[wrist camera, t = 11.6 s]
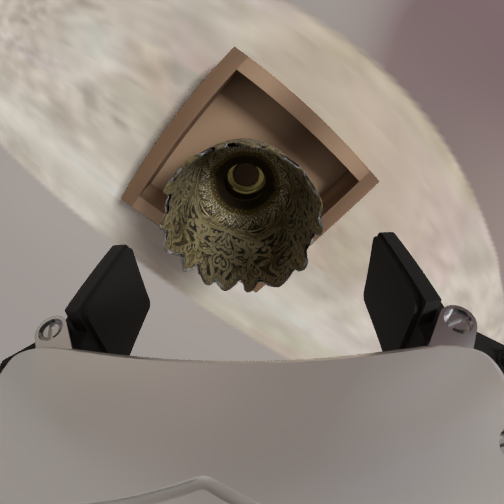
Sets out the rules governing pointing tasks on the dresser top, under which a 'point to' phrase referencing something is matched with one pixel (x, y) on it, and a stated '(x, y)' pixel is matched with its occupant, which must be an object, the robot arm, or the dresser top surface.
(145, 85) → the dresser top surface
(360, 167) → the box
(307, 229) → the olive round vessel
